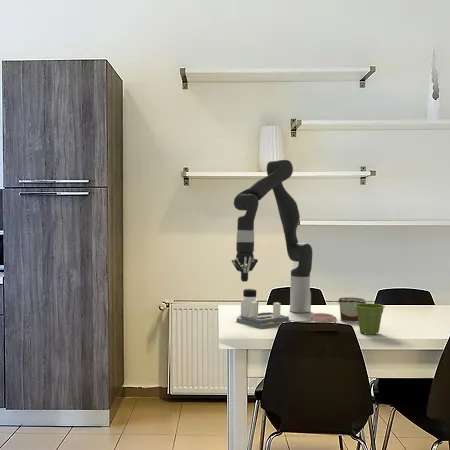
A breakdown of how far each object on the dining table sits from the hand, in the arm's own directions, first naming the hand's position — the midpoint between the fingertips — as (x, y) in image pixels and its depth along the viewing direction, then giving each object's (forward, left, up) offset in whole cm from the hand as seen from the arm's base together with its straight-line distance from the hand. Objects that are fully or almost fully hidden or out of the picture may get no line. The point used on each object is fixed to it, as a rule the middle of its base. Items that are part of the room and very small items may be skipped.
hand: (244, 281), depth 241 cm
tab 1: (-6, 0, -16) cm, 17 cm away
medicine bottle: (-15, -15, -18) cm, 28 cm away
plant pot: (-32, +41, -18) cm, 55 cm away
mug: (-22, +26, -18) cm, 39 cm away
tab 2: (-13, +7, -16) cm, 22 cm away
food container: (-47, +19, -18) cm, 54 cm away
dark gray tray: (-9, +3, -18) cm, 21 cm away
